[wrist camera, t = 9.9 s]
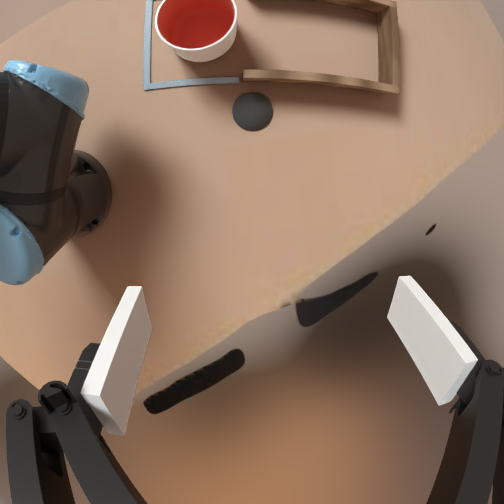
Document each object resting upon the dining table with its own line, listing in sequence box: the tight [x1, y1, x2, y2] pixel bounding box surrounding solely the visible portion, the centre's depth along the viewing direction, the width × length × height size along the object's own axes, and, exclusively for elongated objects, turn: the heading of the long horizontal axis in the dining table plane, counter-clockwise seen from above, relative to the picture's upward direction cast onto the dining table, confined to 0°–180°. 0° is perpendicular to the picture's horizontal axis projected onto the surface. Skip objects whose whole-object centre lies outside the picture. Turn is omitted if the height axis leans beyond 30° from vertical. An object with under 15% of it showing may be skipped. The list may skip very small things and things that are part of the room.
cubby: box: [243, 0, 400, 94], centre depth 34 cm, size 23×16×5 cm
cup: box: [155, 0, 238, 62], centre depth 31 cm, size 10×10×10 cm
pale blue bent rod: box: [144, 0, 239, 90], centre depth 35 cm, size 14×17×1 cm
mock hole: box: [233, 92, 273, 130], centre depth 41 cm, size 6×6×1 cm
